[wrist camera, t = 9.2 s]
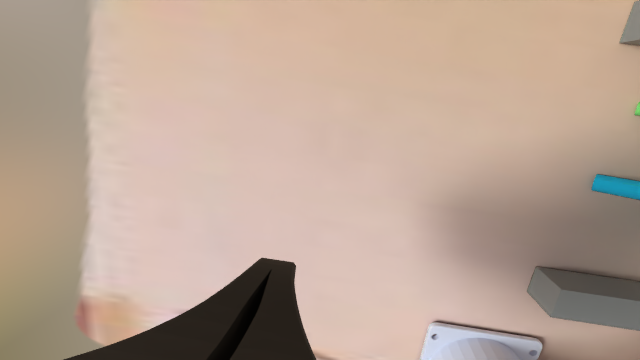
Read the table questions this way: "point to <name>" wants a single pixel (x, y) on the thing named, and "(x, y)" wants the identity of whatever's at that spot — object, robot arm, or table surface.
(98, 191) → the table surface
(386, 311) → the table surface
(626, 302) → the gear frame
